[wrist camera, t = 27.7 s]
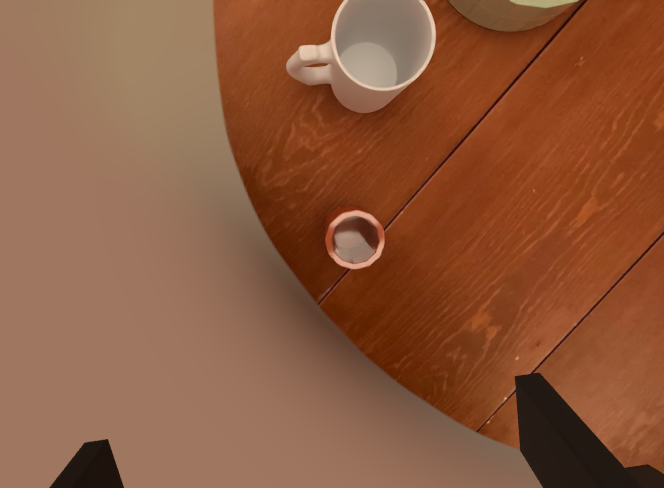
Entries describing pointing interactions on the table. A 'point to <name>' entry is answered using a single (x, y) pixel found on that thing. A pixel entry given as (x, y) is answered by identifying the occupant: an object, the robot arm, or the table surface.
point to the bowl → (512, 12)
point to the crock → (353, 237)
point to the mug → (370, 52)
